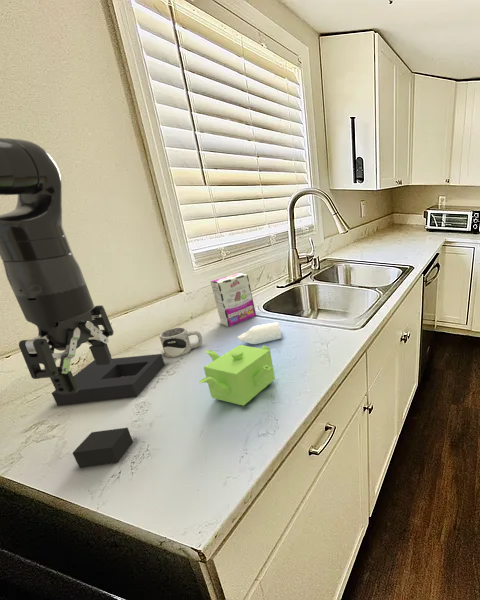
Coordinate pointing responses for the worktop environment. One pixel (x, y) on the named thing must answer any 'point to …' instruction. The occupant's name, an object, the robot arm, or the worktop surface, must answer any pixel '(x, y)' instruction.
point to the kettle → (239, 373)
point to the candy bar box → (233, 299)
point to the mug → (178, 341)
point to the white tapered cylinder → (261, 333)
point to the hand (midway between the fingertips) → (88, 377)
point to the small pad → (103, 447)
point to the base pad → (113, 379)
